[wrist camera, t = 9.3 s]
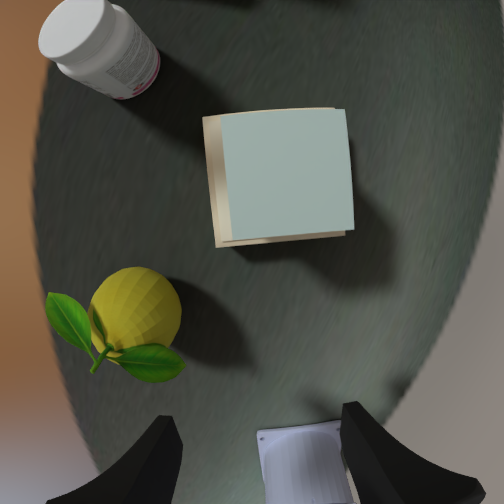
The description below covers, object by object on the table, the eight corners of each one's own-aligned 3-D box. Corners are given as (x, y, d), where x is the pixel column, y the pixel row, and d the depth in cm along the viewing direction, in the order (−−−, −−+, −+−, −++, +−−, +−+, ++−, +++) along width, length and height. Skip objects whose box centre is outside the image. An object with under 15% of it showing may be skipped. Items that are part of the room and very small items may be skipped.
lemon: (101, 260, 20) (13, 315, 10) (171, 235, 20) (103, 286, 10) (136, 339, 22) (80, 426, 12) (204, 323, 21) (174, 422, 11)
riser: (334, 228, 20) (345, 236, 17) (220, 239, 20) (216, 248, 17) (324, 115, 18) (335, 107, 15) (208, 124, 18) (201, 116, 15)
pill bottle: (158, 33, 16) (113, -29, 8) (166, 88, 17) (115, 38, 9) (98, 55, 16) (35, 12, 8) (103, 109, 18) (30, 81, 9)
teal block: (319, 211, 17) (354, 229, 11) (239, 218, 17) (232, 240, 11) (313, 132, 16) (344, 109, 10) (231, 138, 16) (220, 115, 10)
